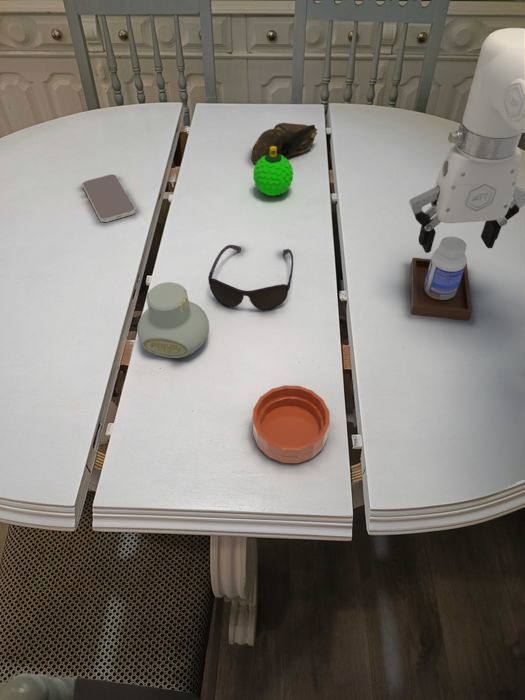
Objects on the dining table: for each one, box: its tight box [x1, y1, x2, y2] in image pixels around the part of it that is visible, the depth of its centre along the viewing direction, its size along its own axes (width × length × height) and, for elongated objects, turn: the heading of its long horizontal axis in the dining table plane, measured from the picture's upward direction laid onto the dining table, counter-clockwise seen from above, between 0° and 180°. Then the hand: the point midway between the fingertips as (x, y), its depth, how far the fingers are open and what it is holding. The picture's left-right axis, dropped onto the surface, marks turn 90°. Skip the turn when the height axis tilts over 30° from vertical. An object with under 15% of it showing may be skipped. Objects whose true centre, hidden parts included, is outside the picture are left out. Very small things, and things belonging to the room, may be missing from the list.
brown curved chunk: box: [251, 122, 318, 165], centre depth 119 cm, size 16×9×7 cm, turn 122°
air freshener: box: [136, 281, 210, 359], centre depth 80 cm, size 11×8×10 cm
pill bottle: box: [424, 236, 468, 300], centre depth 86 cm, size 5×5×10 cm
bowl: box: [252, 384, 331, 464], centre depth 71 cm, size 10×10×4 cm
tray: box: [410, 257, 473, 322], centre depth 90 cm, size 12×9×2 cm
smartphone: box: [82, 173, 137, 223], centre depth 109 cm, size 7×1×15 cm
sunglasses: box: [207, 244, 294, 311], centre depth 91 cm, size 14×16×5 cm
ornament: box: [252, 146, 294, 197], centre depth 107 cm, size 8×8×10 cm
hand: (455, 245), depth 82 cm, fingers open, 9 cm apart
